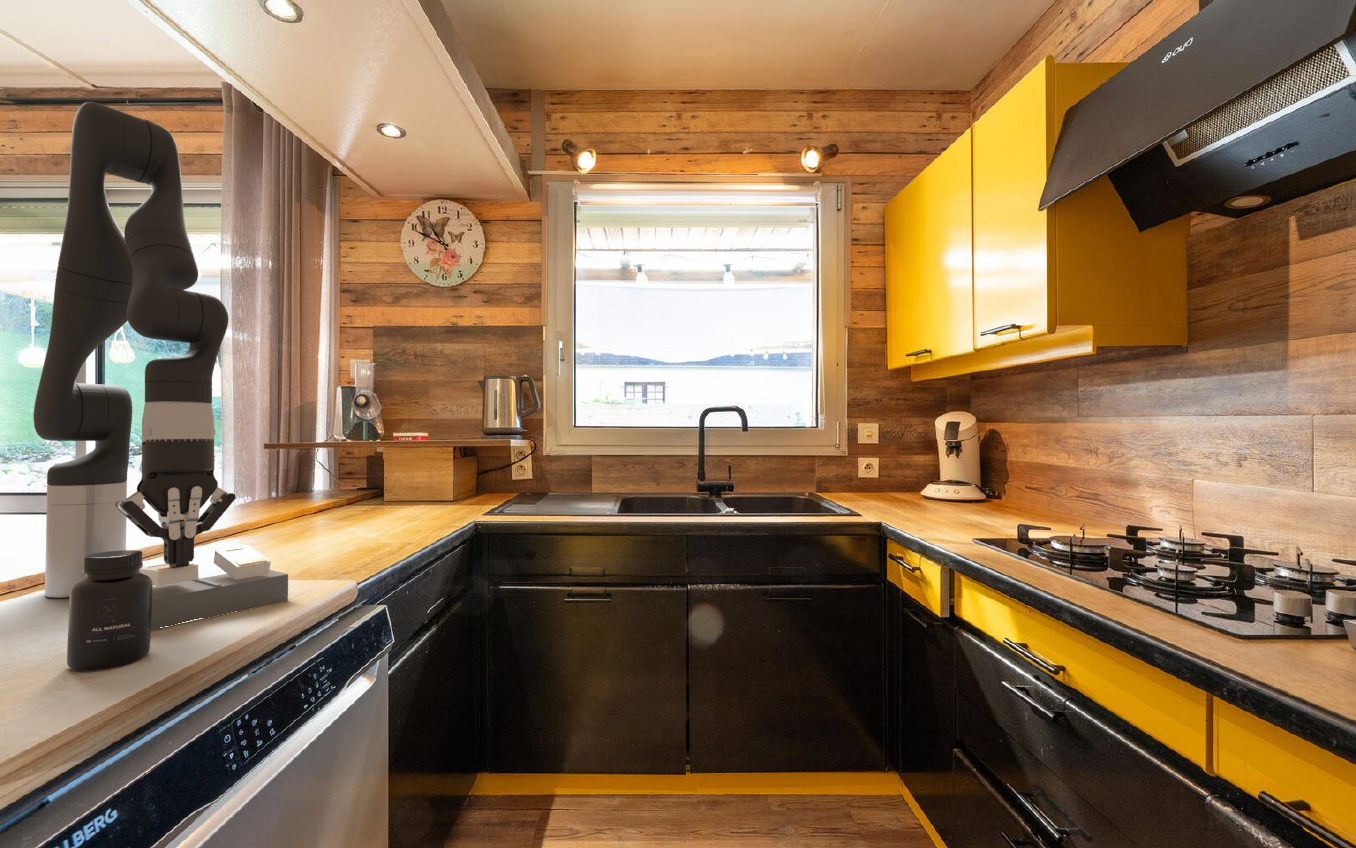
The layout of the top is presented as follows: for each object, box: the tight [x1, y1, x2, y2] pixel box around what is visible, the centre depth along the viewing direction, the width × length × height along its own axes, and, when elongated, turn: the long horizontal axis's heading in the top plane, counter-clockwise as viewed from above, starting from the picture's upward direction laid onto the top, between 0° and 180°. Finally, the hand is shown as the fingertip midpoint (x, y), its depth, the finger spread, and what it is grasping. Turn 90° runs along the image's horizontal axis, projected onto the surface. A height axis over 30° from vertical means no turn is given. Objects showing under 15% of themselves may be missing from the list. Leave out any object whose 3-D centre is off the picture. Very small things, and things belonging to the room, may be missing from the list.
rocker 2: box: [213, 544, 271, 580], centre depth 90 cm, size 7×4×2 cm, turn 59°
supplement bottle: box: [66, 549, 154, 672], centre depth 68 cm, size 7×7×12 cm
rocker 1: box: [140, 563, 199, 587], centre depth 82 cm, size 7×4×2 cm, turn 59°
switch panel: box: [151, 569, 289, 631], centre depth 86 cm, size 8×18×4 cm, turn 149°
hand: (178, 566), depth 81 cm, fingers closed
